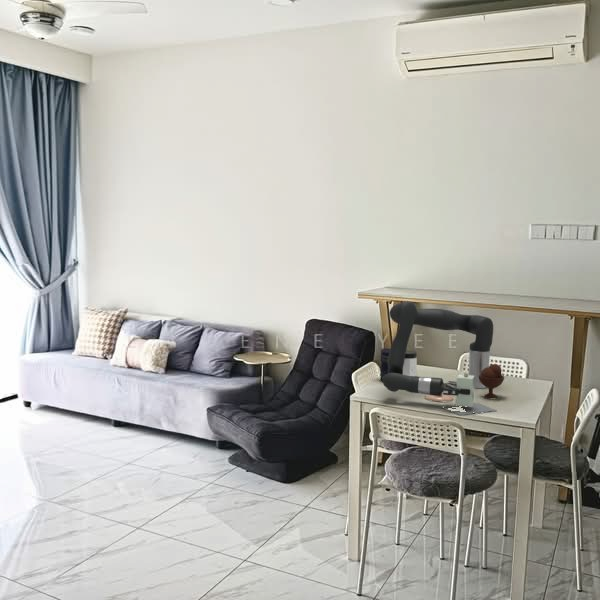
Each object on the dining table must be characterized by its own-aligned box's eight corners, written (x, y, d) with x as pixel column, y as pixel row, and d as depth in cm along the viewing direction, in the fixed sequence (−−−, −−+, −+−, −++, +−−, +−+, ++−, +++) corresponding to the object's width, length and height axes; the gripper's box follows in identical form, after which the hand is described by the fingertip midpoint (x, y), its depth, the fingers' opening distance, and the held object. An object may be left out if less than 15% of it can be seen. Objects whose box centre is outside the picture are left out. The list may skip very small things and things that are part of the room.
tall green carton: (458, 401, 283) (459, 371, 281) (473, 403, 280) (474, 372, 279) (456, 405, 277) (457, 374, 275) (471, 407, 275) (472, 376, 273)
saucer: (442, 393, 303) (442, 391, 303) (458, 400, 292) (458, 398, 292) (419, 396, 299) (419, 394, 298) (435, 403, 288) (435, 400, 287)
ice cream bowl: (496, 393, 305) (497, 360, 303) (507, 400, 294) (509, 366, 292) (473, 394, 303) (475, 361, 301) (484, 400, 292) (486, 366, 291)
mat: (478, 403, 288) (478, 402, 288) (496, 411, 277) (496, 410, 277) (442, 407, 281) (442, 406, 281) (460, 415, 270) (460, 414, 270)
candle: (439, 394, 297) (440, 384, 297) (444, 396, 294) (444, 386, 294) (433, 395, 296) (434, 384, 295) (437, 397, 293) (438, 386, 293)
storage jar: (382, 377, 332) (383, 347, 330) (402, 379, 329) (403, 349, 327) (377, 382, 323) (378, 351, 321) (397, 384, 319) (398, 353, 318)
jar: (406, 378, 332) (407, 354, 330) (395, 375, 339) (396, 351, 337) (419, 376, 337) (420, 352, 335) (408, 372, 343) (409, 349, 342)
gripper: (427, 381, 276) (469, 385, 270) (434, 373, 289) (474, 377, 283) (426, 399, 277) (468, 403, 271) (433, 390, 290) (473, 394, 284)
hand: (471, 390), depth 277 cm, fingers closed on tall green carton, 6 cm apart
